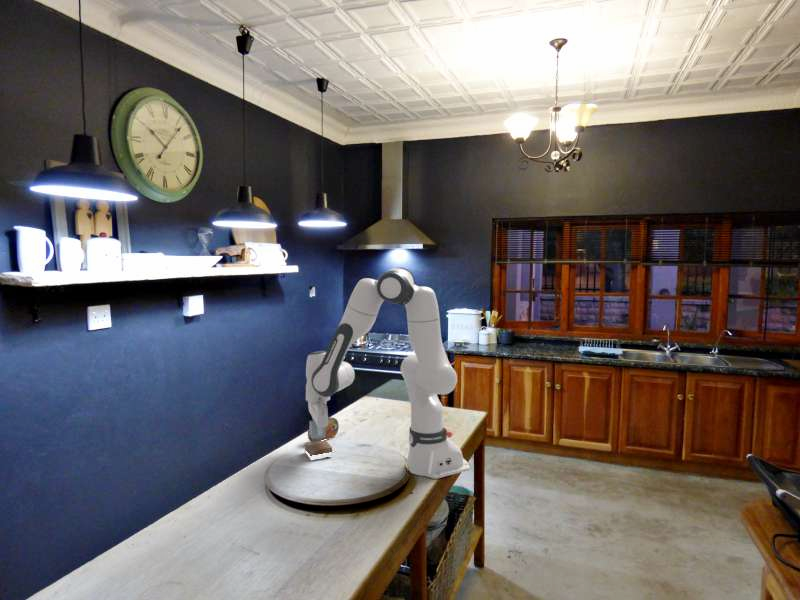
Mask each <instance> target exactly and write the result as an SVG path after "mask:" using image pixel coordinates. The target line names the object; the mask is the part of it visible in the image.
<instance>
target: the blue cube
mask: <svg viewBox="0 0 800 600" xmlns="http://www.w3.org/2000/svg"><path fill="white" fill-rule="evenodd" d="M308 429H309V434H310V436H311V438H312V439H315V438H325V429H326V427H323V429H322V435H317V425H316V423H315V421H313V420H309V427H308Z"/></svg>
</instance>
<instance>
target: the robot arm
mask: <svg viewBox="0 0 800 600" xmlns="http://www.w3.org/2000/svg"><path fill="white" fill-rule="evenodd" d="M384 301H385V302H388V303H391V304H396V305H400V306H404V307H405V310H406V320H407V322H406V323H407V332H408V335H407V336H408V343H409V344H410V347H411V348H412V350H413V351H414V353H415V354H410V355H407V356H406V357H405V358H404V359H403V360H402V362H401V364H400V373H401V376H402V378H403V380H404V381H405V385H406V389H407V393H408V398H409V404H410V427H409V433H408V444H409V449H408V455H407V459H406V462H407V464H408V466H409V471H410V472H409V471H408V472H409V473H410V474H413V475H417V476H421V477H428V478H431V479H436V480H437V479H441V478H444V477H448V476H452V475H456V474H460V473H464V472H468V471H469V470H470V464H469V461H467V460H466V459H465V458H464V456H463V452H462V450H461V448H460V447H459V446H458V445H457V444H456V443H455V442H454V441H452V440H450V438H451V437H452V436H453V432H452V431H450V430H449V429H447V428H445V427H443V421H444V420H443V419H444V418H443V416H444V415H443V414H444V409H443V408H444V407H443V405H442V404H443V403H441V401H440V399H439V396H438V395H443V396H444V395H448V394H450V393H451V392H453V391H454V389H455V388H456V386H457V382H458V374H457V371H456V370H455V368H453V366H452V365H451V362H450V361H449V359H448V355H447V353H446V349H445V347H444V343H443V340H442V339H443V338H442V332H441V331H442V330H441V318H440V311H439V309H440V308H439V304H438V300H437V296H436V292H435V290H434V289H432V288H431V287H428V286H426V285H425V286H422V285H421V286H419V285H416V280H415V277H414V275H413V273H412V271H410V270H409V269H407V268H405V267H394V268H390V269H388V270H387V271H385V272H383V273H382V274H381V275H380V276H379V278H378V279H374V278H369V277H366V278H362V279H360V280H359V281H358V282H357V284H356V285H355V287H354V288H353V291H352V292H351V295H350V297H349V298H348V302H347V304H346V308H345V310H344V313H343V315H342V318H341V320H340V322H339V324H338V326H337V328H336V330H335V332H334V334H333V336H332V338H331V340H330V343H329V344H328V347H327V349H326V350H318V351H314V352H311V353H310V354H308V355H307V358H306V363H305V364H306V365H305V366H306V367H305V377H306V384H305V401H306V402H307V404H308V405H307V407H308V412H309V413H310V415H311V417H312V421H315V423H316V425H317V435H322V429H323V427H327V425H328V417H329V413H328V411H329V410H328V405H327V404H328V403H327V402H328V401H330V400H331V396H333V395H334V394H336V393H337V392H339V391H342V390H343V389H346V388H347V387H349V386H350V385H352V384H353V383H354V381H355V378H356V376H355V375H356V372H355V369H354V367H353V366H352V365H351V364H350V363H349V362H347V361H344V359H345V357H346V355H347V352H348V350H349V349H350V347H351V346H352V345H353V344H354V343H355V342H357V340H359V339H360V338H362V337H363V336H365V335H366V334H368V333H369V332H370V331H371V329H372V328H373V326H374V324H375V323H376V319H377V317H378V315H379V312H380V309H381V306H382V304H383V303H384Z"/></svg>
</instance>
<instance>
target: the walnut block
mask: <svg viewBox="0 0 800 600" xmlns="http://www.w3.org/2000/svg"><path fill="white" fill-rule="evenodd" d="M305 450H306V451H307V452H308V453H309V454H310V456H312V455H318V454H323V453H329V452H332V453H333V447H332V446H331V445H330V444H329V442H328V440H324V441H317V442H311V441H310V442H305V443H304V451H305Z"/></svg>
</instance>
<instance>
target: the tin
mask: <svg viewBox="0 0 800 600" xmlns="http://www.w3.org/2000/svg"><path fill="white" fill-rule="evenodd" d="M339 426H340V425H339V421H338V419H336V417H329V416H328V425H327V427H326V429H325V438H315V439H312V438H311V436H310V434H309V428H308V429H307V438H308V440H309V441H310V442H317V441H321V440H324V439H329V438H331V439H333V438H335V436H337V434H338V432H339V428H340V427H339ZM329 440H330V439H329Z"/></svg>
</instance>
